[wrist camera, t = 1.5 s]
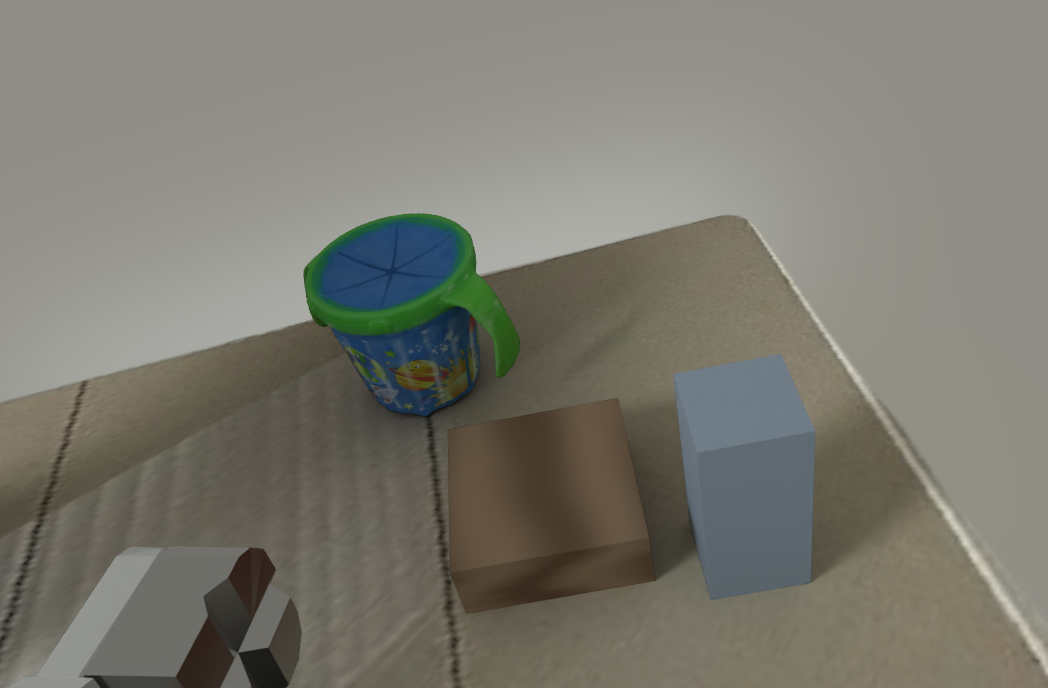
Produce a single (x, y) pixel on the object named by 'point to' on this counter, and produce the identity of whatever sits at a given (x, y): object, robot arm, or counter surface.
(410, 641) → the counter surface
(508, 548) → the walnut base
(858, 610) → the counter surface
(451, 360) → the snack cup
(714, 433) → the pillar
